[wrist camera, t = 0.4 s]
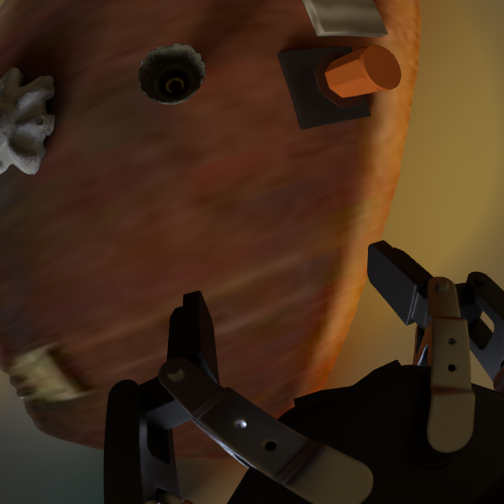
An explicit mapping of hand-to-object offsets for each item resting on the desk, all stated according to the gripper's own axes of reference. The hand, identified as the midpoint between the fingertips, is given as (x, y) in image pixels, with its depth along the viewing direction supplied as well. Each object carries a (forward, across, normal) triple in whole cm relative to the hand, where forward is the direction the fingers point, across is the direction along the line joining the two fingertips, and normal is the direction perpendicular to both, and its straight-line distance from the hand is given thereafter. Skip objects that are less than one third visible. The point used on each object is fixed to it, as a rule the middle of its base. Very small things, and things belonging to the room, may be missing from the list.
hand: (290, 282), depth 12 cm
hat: (+24, -17, -10) cm, 31 cm away
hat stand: (+30, -17, -10) cm, 35 cm away
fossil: (+28, +30, -19) cm, 45 cm away
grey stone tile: (+32, -23, -25) cm, 47 cm away
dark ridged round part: (+29, +5, -13) cm, 32 cm away
